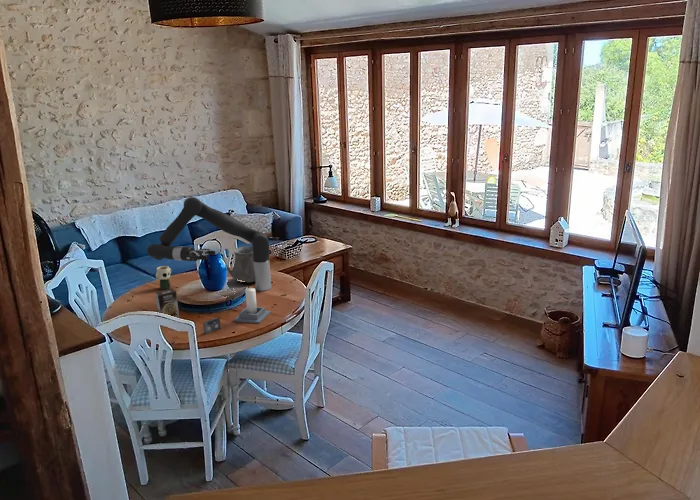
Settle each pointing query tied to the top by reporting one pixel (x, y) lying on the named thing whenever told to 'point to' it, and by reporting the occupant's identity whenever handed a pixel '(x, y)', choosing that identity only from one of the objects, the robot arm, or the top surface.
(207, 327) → the mini dv tape
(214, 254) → the robot arm
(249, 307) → the cream canister
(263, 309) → the slate socket
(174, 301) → the coffee box
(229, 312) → the top surface
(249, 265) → the vessel
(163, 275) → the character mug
